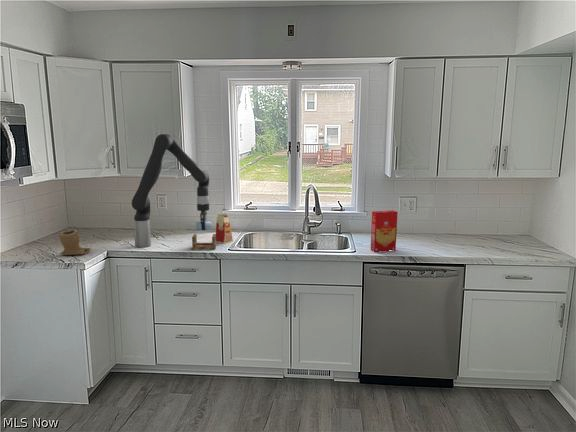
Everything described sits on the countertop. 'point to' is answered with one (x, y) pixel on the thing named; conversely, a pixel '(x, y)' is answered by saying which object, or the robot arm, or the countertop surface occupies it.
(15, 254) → the countertop surface
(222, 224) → the milk carton
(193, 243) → the cradle
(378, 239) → the food packaging
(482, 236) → the countertop surface
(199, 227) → the cylinder
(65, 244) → the tan hollow boot-shaped piece
